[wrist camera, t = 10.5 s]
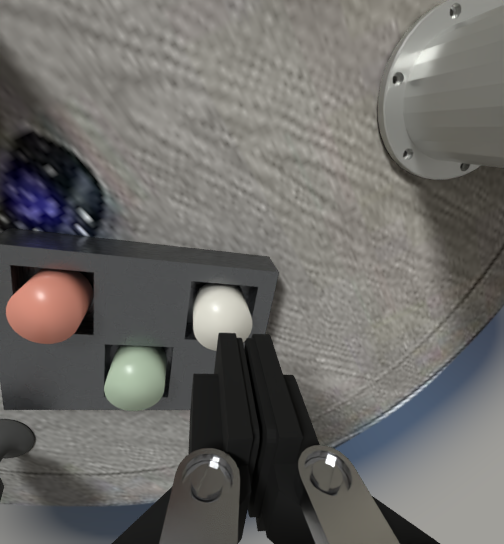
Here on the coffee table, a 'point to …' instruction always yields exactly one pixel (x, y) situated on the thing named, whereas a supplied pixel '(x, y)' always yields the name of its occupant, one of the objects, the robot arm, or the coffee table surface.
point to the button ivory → (220, 313)
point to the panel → (118, 315)
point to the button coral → (50, 305)
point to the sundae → (14, 441)
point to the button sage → (136, 377)
